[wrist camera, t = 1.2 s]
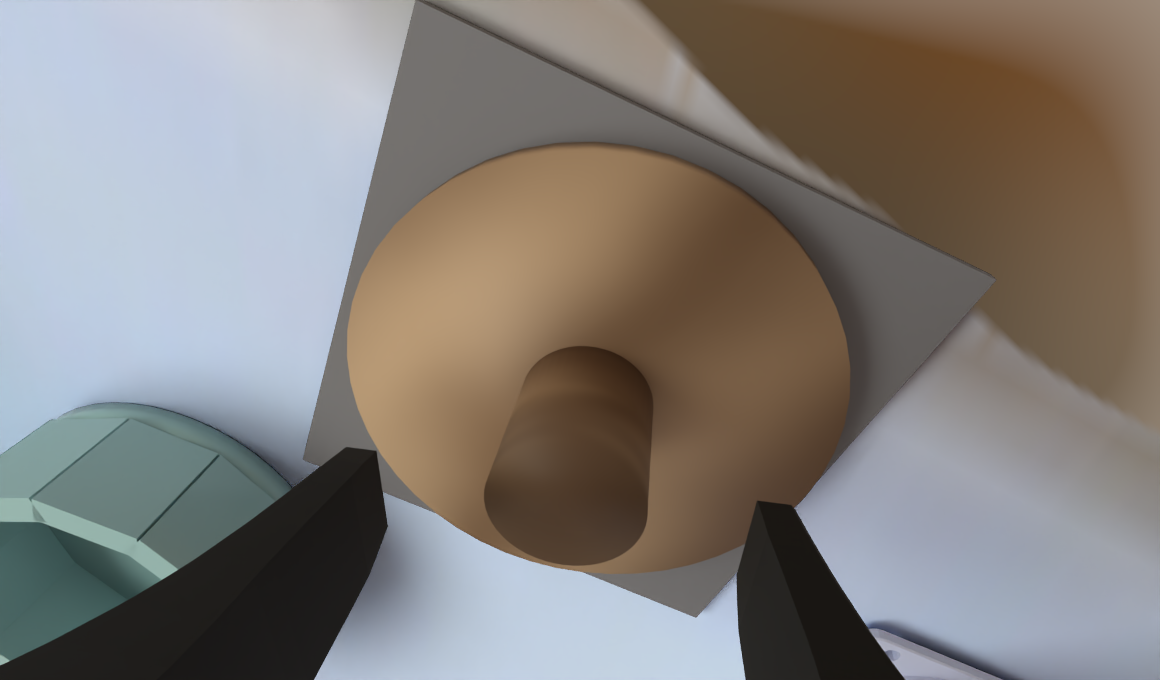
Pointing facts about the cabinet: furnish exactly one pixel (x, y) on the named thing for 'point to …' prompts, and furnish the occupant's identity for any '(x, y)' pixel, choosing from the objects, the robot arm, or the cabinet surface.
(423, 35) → the mat
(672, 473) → the lid
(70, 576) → the bowl
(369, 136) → the cabinet surface
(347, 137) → the cabinet surface
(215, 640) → the robot arm
